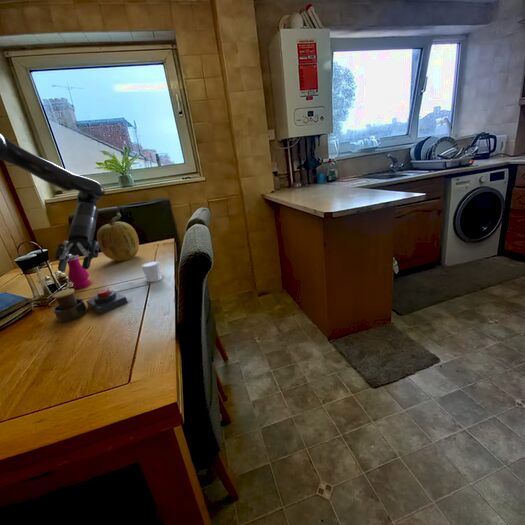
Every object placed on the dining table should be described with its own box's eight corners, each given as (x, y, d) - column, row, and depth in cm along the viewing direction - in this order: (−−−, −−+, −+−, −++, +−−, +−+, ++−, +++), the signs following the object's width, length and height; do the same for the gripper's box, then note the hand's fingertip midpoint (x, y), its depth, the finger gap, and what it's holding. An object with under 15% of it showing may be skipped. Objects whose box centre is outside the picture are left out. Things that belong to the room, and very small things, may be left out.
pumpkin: (140, 260, 142) (126, 212, 134) (100, 268, 138) (83, 219, 130) (145, 250, 159) (132, 207, 151) (109, 257, 156) (94, 213, 147)
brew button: (101, 298, 94) (99, 294, 93) (97, 296, 96) (95, 292, 95) (112, 294, 96) (110, 289, 96) (107, 292, 99) (106, 287, 98)
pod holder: (62, 325, 87) (57, 314, 86) (54, 318, 93) (49, 307, 91) (90, 312, 93) (86, 302, 92) (81, 306, 98) (77, 296, 97)
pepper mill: (90, 280, 123) (74, 237, 116) (93, 284, 118) (76, 239, 111) (71, 286, 119) (53, 241, 112) (73, 291, 113) (55, 244, 107)
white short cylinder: (155, 275, 120) (151, 260, 117) (166, 277, 116) (162, 261, 114) (142, 281, 114) (137, 266, 112) (153, 283, 111) (148, 267, 108)
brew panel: (101, 314, 91) (97, 304, 89) (88, 306, 98) (84, 296, 96) (127, 302, 97) (124, 292, 96) (114, 296, 104) (110, 286, 103)
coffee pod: (65, 320, 89) (56, 298, 86) (59, 315, 93) (50, 294, 90) (84, 312, 93) (76, 290, 90) (78, 307, 97) (70, 287, 94)
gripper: (56, 226, 99) (44, 267, 92) (94, 221, 98) (85, 263, 91) (71, 236, 106) (61, 275, 99) (107, 232, 105) (99, 271, 98)
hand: (73, 269), depth 95 cm, fingers open, 8 cm apart
